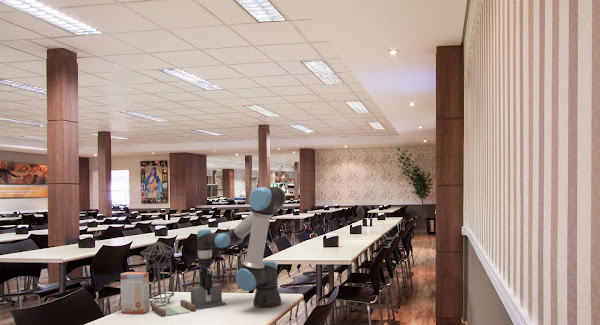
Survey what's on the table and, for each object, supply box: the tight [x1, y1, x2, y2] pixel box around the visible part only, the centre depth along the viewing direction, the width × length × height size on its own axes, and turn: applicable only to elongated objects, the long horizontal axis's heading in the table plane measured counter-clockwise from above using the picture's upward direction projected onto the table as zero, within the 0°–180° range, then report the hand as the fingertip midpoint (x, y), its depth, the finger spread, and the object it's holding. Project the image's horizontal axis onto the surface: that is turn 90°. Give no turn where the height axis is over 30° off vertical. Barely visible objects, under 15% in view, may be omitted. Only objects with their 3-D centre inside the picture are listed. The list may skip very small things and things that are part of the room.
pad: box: [162, 304, 191, 317], centre depth 271 cm, size 18×12×1 cm, turn 32°
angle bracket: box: [190, 283, 227, 310], centre depth 280 cm, size 16×10×10 cm, turn 122°
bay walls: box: [151, 299, 197, 318], centre depth 271 cm, size 18×18×3 cm
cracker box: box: [120, 271, 150, 315], centre depth 271 cm, size 14×6×21 cm, turn 71°
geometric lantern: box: [139, 241, 176, 307], centre depth 289 cm, size 16×16×35 cm
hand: (206, 300), depth 282 cm, fingers closed on angle bracket, 5 cm apart
